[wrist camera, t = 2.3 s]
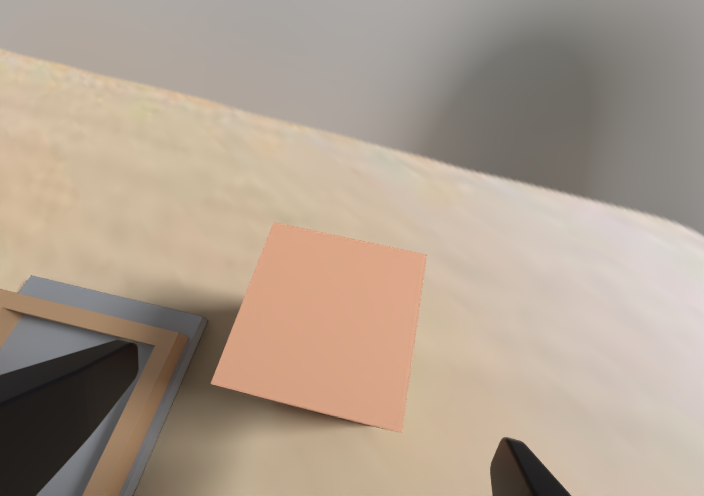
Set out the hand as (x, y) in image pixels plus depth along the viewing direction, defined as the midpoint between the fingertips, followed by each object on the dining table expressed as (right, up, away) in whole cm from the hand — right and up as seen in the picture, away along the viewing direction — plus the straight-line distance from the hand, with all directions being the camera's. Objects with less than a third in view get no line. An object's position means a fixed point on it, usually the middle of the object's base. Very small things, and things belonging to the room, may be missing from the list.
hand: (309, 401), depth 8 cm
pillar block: (0, -2, +10) cm, 10 cm away
